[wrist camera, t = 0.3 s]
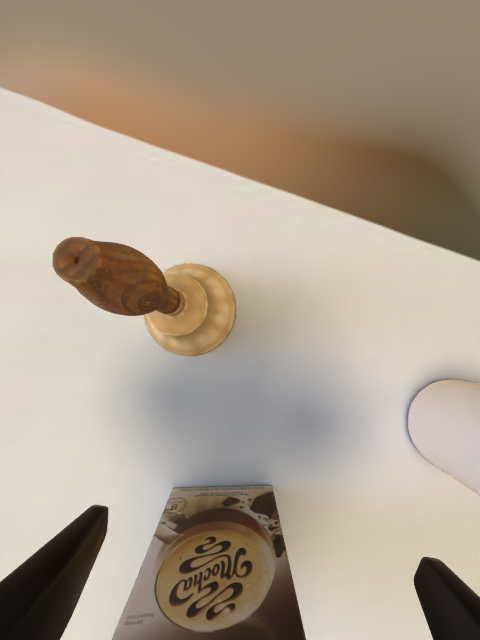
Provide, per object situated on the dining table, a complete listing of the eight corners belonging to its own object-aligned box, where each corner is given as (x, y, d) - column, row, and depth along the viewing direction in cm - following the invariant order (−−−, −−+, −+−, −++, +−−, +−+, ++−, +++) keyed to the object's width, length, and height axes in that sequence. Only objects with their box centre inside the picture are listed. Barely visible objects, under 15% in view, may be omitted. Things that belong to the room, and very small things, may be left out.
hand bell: (138, 349, 22) (-101, 402, 6) (150, 259, 23) (-49, 94, 7) (230, 360, 23) (218, 438, 7) (241, 270, 23) (255, 135, 7)
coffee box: (273, 481, 22) (374, 883, 6) (275, 556, 22) (385, 1181, 6) (170, 484, 22) (-7, 909, 6) (170, 560, 22) (-12, 1217, 6)
